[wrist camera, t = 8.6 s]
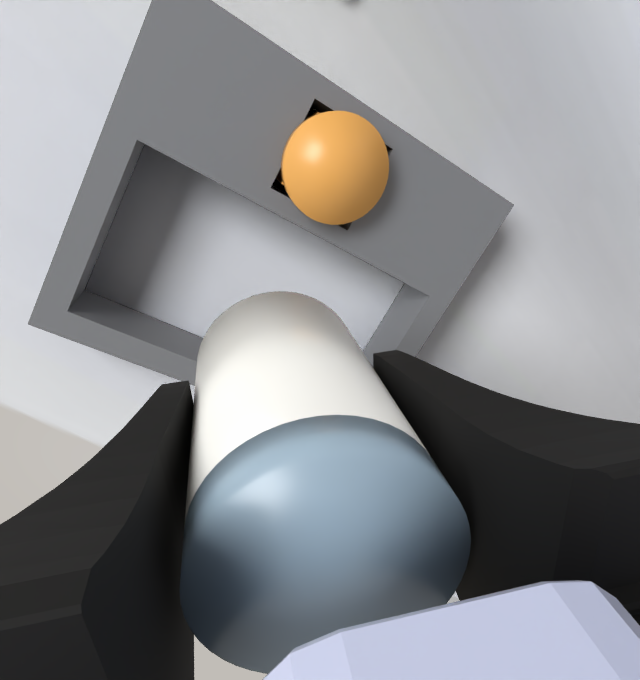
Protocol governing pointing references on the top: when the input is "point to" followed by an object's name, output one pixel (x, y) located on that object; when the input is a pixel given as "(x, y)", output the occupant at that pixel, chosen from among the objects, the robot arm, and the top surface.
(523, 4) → the top surface
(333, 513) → the cylinder
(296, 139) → the plunger
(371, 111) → the dock
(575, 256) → the top surface
